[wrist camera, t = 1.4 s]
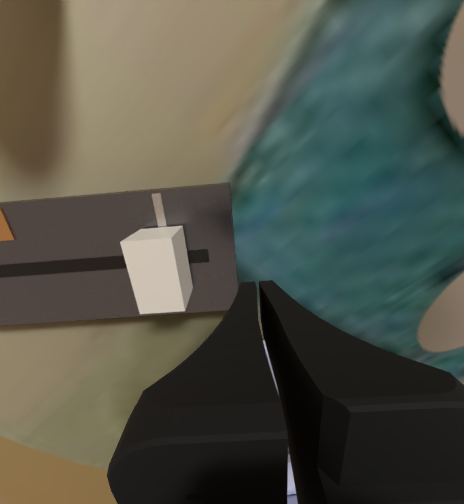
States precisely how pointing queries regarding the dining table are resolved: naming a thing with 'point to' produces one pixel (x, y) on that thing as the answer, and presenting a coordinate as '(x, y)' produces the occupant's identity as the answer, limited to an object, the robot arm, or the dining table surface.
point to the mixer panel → (109, 252)
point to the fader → (158, 269)
